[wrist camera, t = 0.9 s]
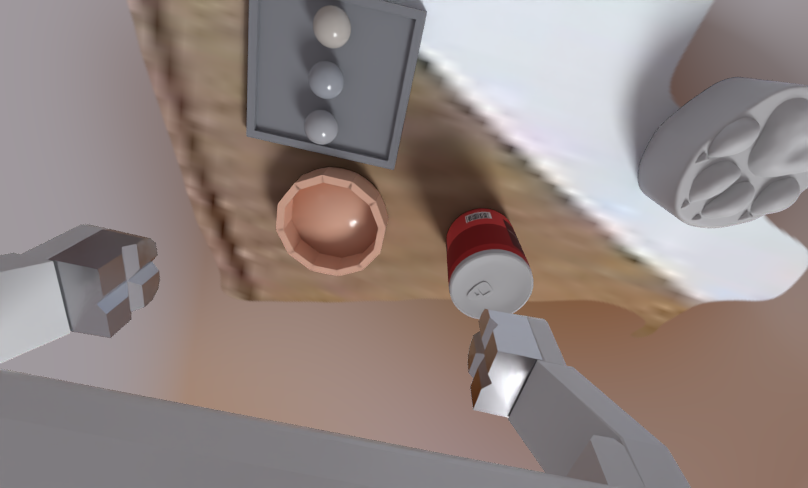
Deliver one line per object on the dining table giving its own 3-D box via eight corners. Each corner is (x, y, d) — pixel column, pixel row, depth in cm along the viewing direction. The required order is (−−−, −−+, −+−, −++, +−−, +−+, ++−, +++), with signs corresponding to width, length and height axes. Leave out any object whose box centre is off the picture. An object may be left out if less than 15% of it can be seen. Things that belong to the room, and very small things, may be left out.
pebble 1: (320, 2, 35) (310, -1, 32) (356, 11, 36) (349, 9, 33) (316, 43, 37) (306, 43, 34) (351, 51, 37) (344, 53, 34)
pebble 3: (310, 103, 40) (300, 108, 37) (343, 111, 40) (336, 117, 37) (307, 136, 41) (298, 144, 38) (339, 143, 41) (331, 151, 38)
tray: (255, -31, 35) (249, -33, 34) (426, 12, 36) (426, 11, 35) (251, 133, 42) (246, 136, 41) (394, 166, 43) (393, 169, 42)
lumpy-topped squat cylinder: (789, 138, 39) (877, 163, 31) (668, 222, 44) (718, 261, 36) (738, 60, 36) (821, 66, 28) (615, 159, 41) (657, 187, 33)
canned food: (432, 241, 47) (432, 294, 37) (477, 192, 44) (490, 236, 34) (480, 275, 49) (491, 333, 39) (526, 230, 45) (552, 282, 36)
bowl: (291, 156, 43) (280, 165, 40) (396, 180, 44) (393, 191, 40) (284, 248, 49) (274, 262, 46) (377, 268, 49) (373, 284, 46)
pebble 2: (315, 55, 38) (305, 57, 34) (349, 64, 38) (342, 66, 35) (311, 92, 39) (302, 96, 36) (345, 100, 39) (337, 105, 36)
